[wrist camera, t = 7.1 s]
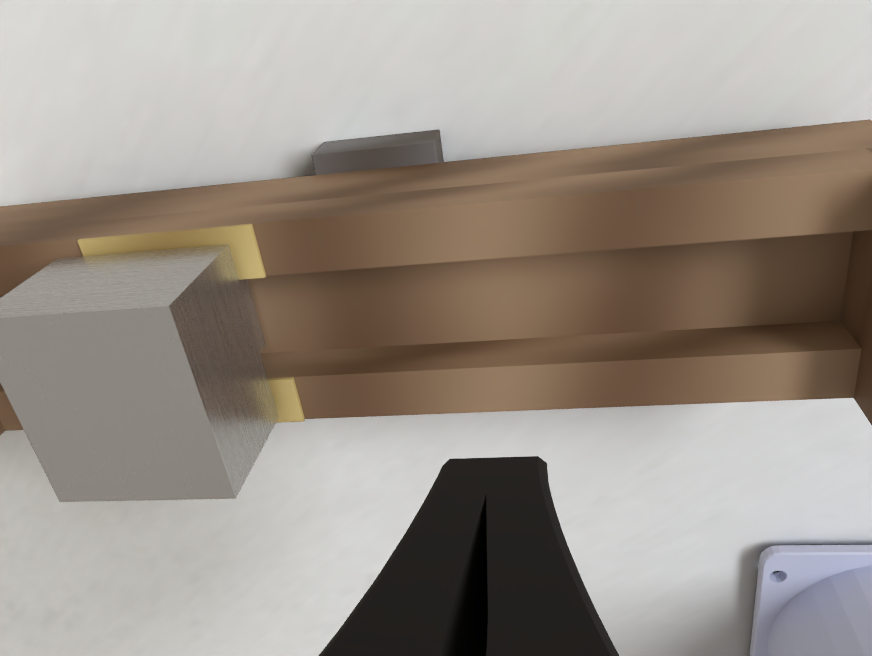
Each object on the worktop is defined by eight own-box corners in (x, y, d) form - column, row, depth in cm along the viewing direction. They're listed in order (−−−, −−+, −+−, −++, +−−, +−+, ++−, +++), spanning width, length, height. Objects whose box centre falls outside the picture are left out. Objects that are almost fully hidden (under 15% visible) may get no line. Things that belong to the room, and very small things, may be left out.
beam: (851, 84, 16) (983, 152, 12) (821, 317, 19) (916, 451, 14) (-1, 177, 20) (-172, 257, 15) (78, 360, 23) (-46, 476, 18)
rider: (252, 220, 16) (169, 306, 13) (296, 384, 18) (235, 498, 15) (91, 234, 17) (-32, 319, 13) (151, 391, 19) (60, 501, 15)
